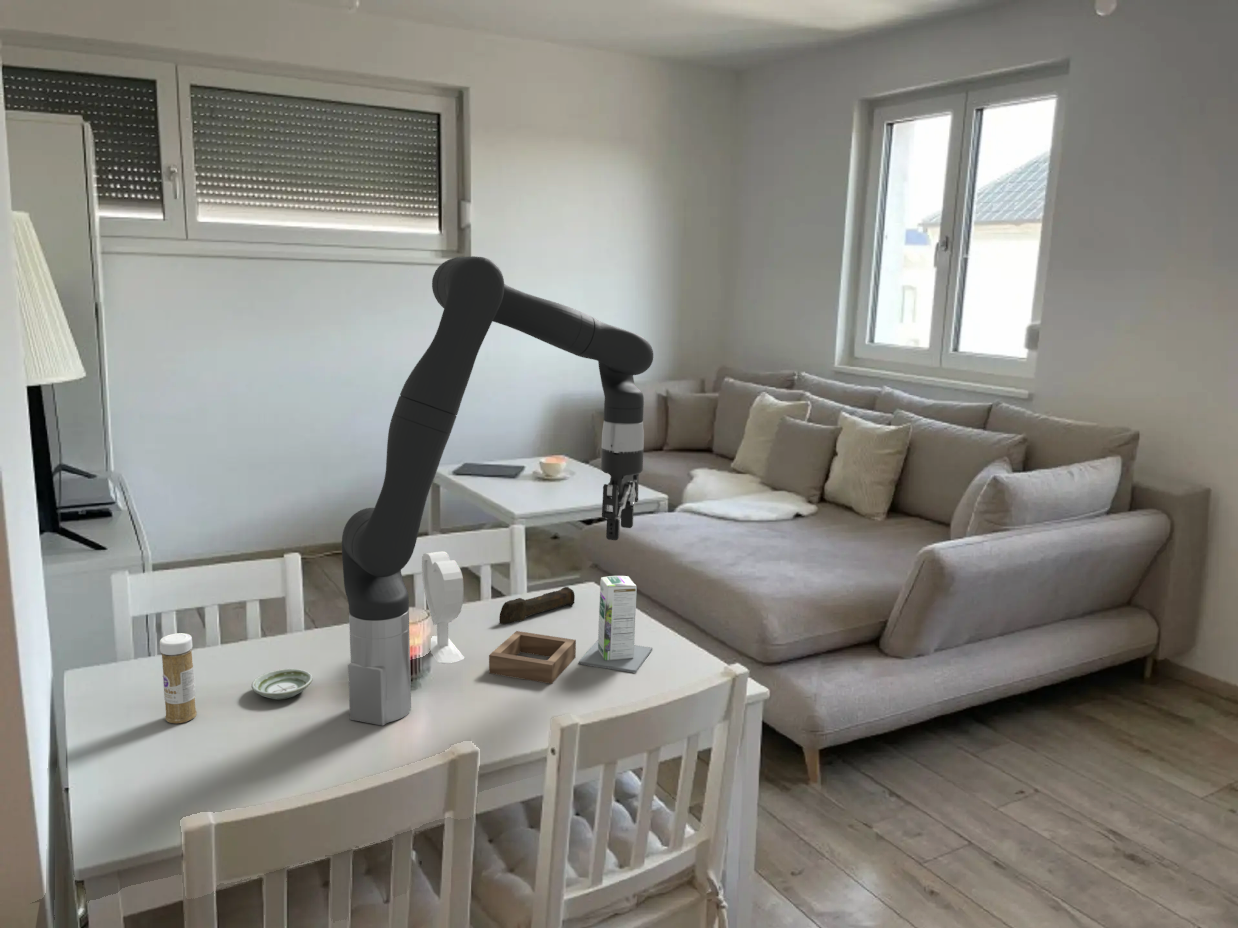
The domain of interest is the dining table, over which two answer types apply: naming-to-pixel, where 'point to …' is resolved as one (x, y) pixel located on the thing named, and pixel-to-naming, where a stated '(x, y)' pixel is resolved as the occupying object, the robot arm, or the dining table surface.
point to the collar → (531, 668)
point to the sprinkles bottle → (178, 677)
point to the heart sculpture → (443, 601)
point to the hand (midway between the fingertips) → (619, 533)
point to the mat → (628, 665)
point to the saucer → (282, 683)
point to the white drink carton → (617, 618)
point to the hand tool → (535, 605)
